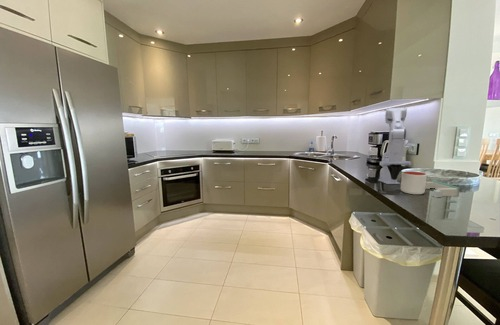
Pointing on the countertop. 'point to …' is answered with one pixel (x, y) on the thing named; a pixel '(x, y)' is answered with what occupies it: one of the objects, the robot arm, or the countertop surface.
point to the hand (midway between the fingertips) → (393, 179)
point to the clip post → (437, 193)
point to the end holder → (443, 188)
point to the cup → (413, 182)
